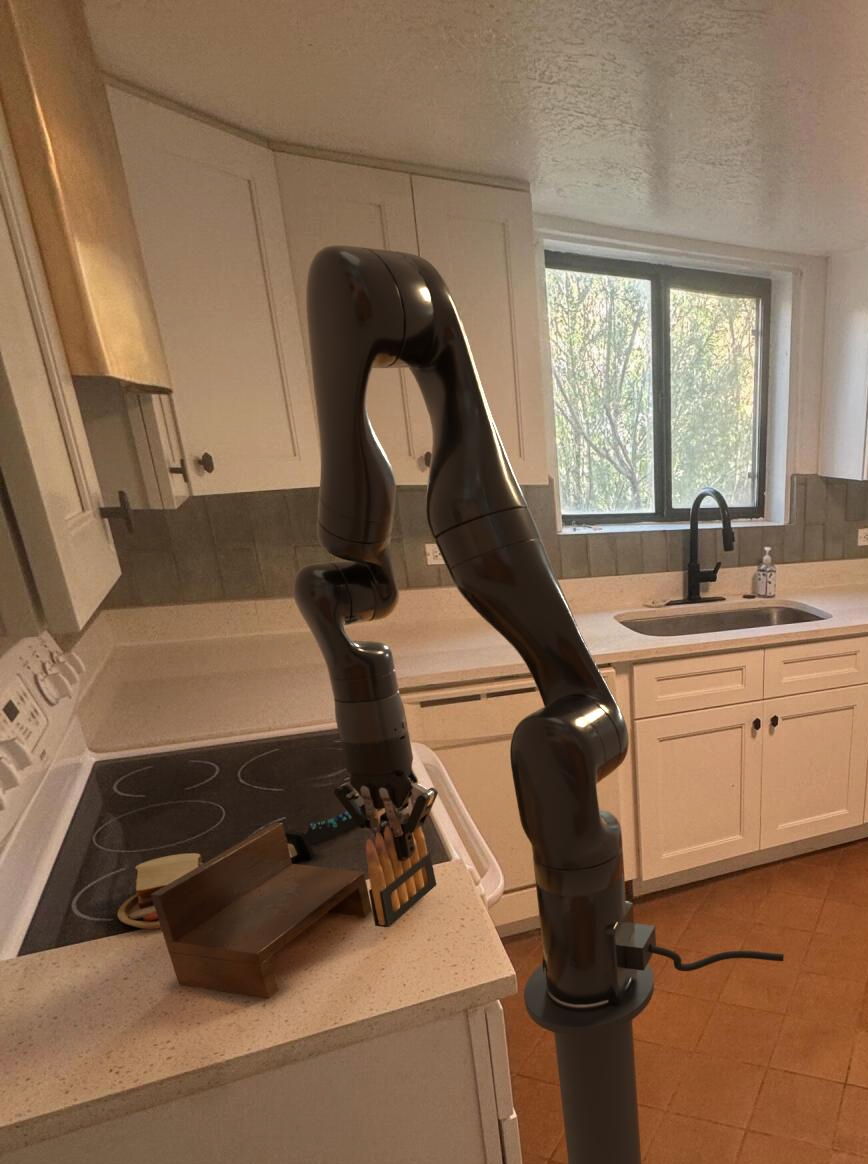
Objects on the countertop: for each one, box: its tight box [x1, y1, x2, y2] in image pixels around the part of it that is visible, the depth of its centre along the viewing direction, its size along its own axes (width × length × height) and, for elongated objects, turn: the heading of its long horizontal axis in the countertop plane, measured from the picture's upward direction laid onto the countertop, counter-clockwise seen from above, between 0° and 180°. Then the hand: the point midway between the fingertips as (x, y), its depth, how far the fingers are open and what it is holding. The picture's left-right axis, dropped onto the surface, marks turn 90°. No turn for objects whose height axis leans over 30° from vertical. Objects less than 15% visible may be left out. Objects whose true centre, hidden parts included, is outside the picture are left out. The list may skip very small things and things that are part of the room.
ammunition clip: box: [365, 807, 437, 928], centre depth 100 cm, size 11×2×12 cm, turn 168°
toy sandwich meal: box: [117, 852, 203, 930], centre depth 105 cm, size 12×14×5 cm
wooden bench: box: [151, 822, 373, 999], centre depth 95 cm, size 12×18×12 cm, turn 168°
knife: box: [285, 808, 366, 860], centre depth 119 cm, size 31×3×4 cm, turn 162°
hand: (398, 857), depth 100 cm, fingers closed on ammunition clip, 1 cm apart
